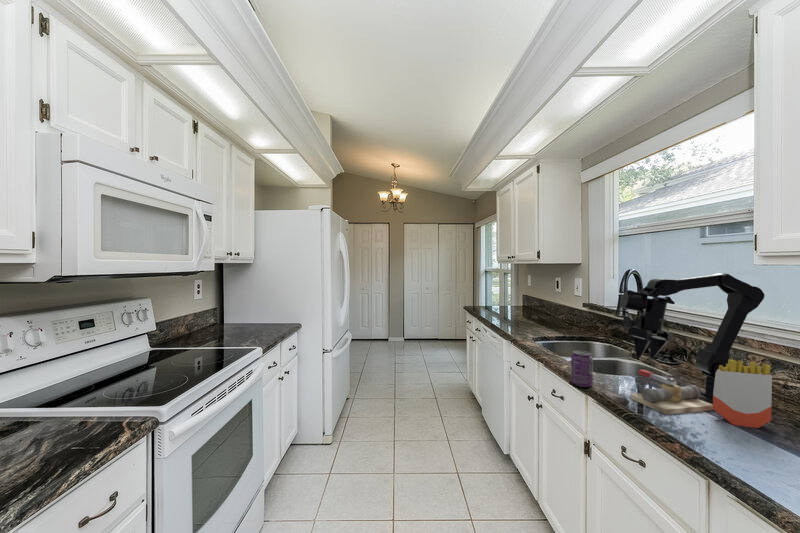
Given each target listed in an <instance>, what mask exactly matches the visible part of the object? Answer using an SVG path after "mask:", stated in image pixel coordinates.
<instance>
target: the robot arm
mask: <svg viewBox="0 0 800 533" xmlns="http://www.w3.org/2000/svg"><path fill="white" fill-rule="evenodd" d="M711 287H718V288H719V290H721V291H722V292H724V293H725V294H727V298H726V304H727V310H726V312H725V313H724V315H723V316H724V317H723V318H722V320H721V322H720V325H719V327H718V328H717V331H716V333H715V335H714V337H713V339H712V341H711V343H710V345H709V346H708V347H707V348H702V347H700V348H699V349H698V351H697V354H696V355H695V357H694V359H695V365H696V366H697V368H698V369H699V370H700V371H701V375H703V376H705V384H704V385H705V386H704V388H705V389H704V391H700V395H703V396H705V397H706V396H707V397H710V398H712V399H713V391H714V383H715V374H716V371H717V369H719V365H722V366H723V367H726V363H727V364H728V359H729V360H731V357H730V351H731V349H732V347H733V345H734V344H735V341H736V340H737V337H738V334H739V333H740V331H741V329H742V327H743V325H744V323H745V321H746V318H747V317H748V315H749V314H750V313H751V312H753V311H754V310H756V309H757V308H759V306H760V305H761V303H762V302H763V301H764V299H765V297H766V296H765V295H766V294H765V292H763V290H762V288H760V287H758V286H753V285H750V284H749V283H747V282H746V281H743V280H740V279H738V278H736V277H734V276H732V275H730V274H729V273H721V272H720V273H714V274H709V275H707V274H706V275H699V276H691V277H684V278H677V279H676V278H670V279H669V278H652V279H650V280H649V281H648V282H647V284H646V286H645V287H644V288H642V289H640V290H639V291H633V290H630V289H625V291H624V293H623V295H622V296H621V297H620V300H619V302H620V303H619V304H620V308H622V309H625V310H631V311H636V312H643V311H644V313H643V314H640V315H639V317H638V318H633V317H632V316H629V315H625V316H624V317H623V318H622V321H621V323H622V324H623V325H624V328H625V329H627V330H626V335H628V336H629V338H631V340H632V341H633V343H634V348H635V356H636V357H637V358H641V357H642V356H643V354H644V353H645V351H646V350H647V348H648V346H649V345H650V348H649V349H650V350H649V357H650V358H655V357H656V356H657V355H658V353H660V352H661V350H662V349H663V348H664V347H665V346H666V345H667V344H668V343H670V341H672V340H673V337H674V336H673V333H672V332H671V331H668V330H662V329H663V325H664V323H666V322H667V318H665V315H666V311H667V306H668V304H669V305H675V301H674V300H673V299H672V298H671V297H670V296H671V295H674V294H678V293H680V292H681V291H682V292H683V291H687V290H695V289H703V288H711ZM660 296H661V297H660ZM649 297H651V298H649Z"/></svg>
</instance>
